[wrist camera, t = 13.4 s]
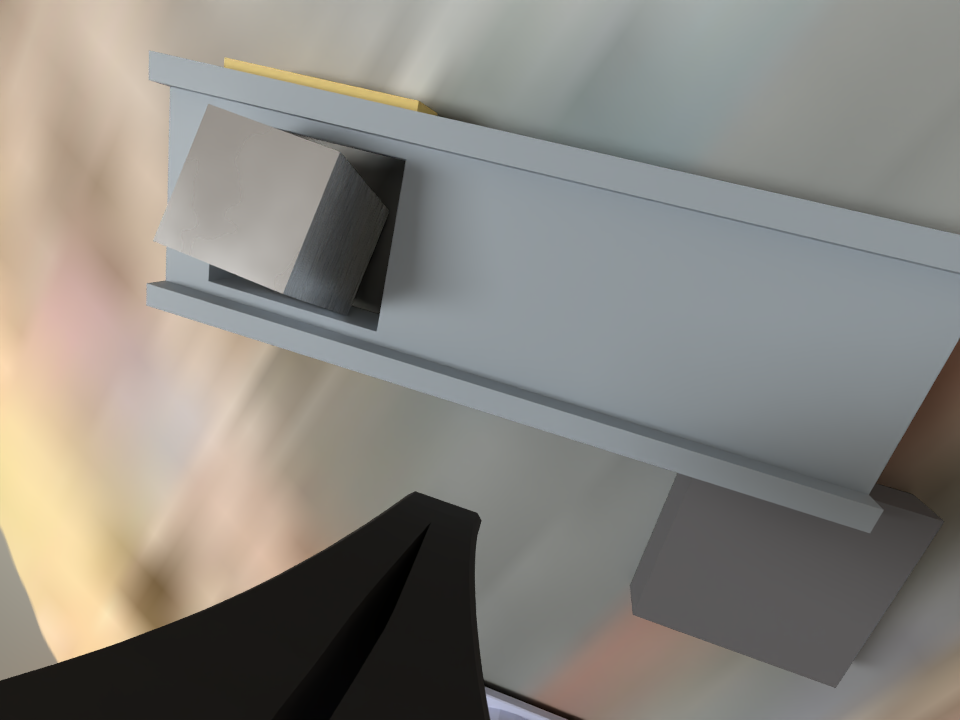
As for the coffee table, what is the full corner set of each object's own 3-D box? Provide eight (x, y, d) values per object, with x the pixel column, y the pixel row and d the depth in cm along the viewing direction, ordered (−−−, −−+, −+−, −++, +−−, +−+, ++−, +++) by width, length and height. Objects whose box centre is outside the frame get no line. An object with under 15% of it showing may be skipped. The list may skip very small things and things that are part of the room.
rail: (820, 493, 16) (863, 544, 14) (205, 303, 20) (146, 316, 17) (961, 232, 14) (1048, 234, 11) (217, 63, 17) (149, 35, 14)
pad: (817, 651, 18) (835, 687, 17) (630, 585, 19) (632, 614, 18) (913, 494, 16) (944, 521, 14) (695, 429, 17) (705, 448, 15)
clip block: (346, 316, 17) (282, 293, 13) (248, 276, 18) (153, 241, 13) (389, 211, 17) (339, 152, 13) (289, 173, 18) (208, 103, 13)
